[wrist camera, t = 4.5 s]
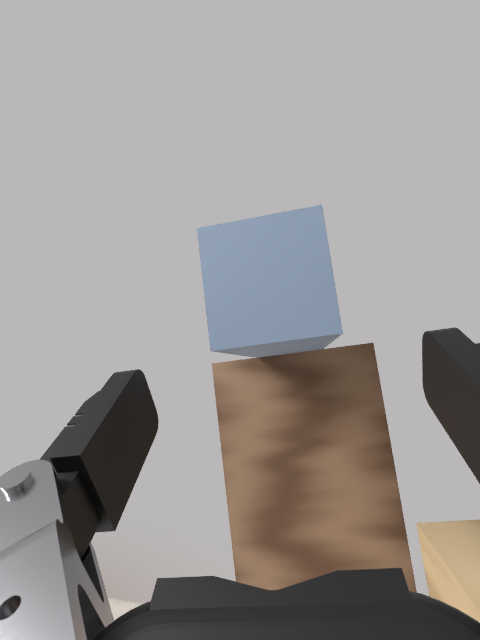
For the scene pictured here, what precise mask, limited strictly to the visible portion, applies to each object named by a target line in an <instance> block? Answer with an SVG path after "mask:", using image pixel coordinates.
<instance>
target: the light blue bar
mask: <svg viewBox="0 0 480 640" xmlns="http://www.w3.org/2000/svg"><path fill="white" fill-rule="evenodd" d="M197 233H198V241H199V251H200V259H201V268H202V277H203V287H204V295H205V305H206V314H207V323H208V332H209V340H210V349H211V351H214V352H221V353H228V354H235V355H242V356H250V357H256V358H260V357H267V356H275V355H283V354H291V353H298V352H306V351H314V350H322V349H324V348H325V347H326V346H327V345H329V344H330V343H331V342H332V341H334V340H335V339H336V338H337V337H339V336H340V335H341V334H343V331H342V325H341V319H340V313H339V307H338V301H337V294H336V289H335V282H334V276H333V270H332V264H331V257H330V252H329V245H328V239H327V234H326V227H325V222H324V215H323V208H322V205H318V206H313V207H308V208H302V209H297V210H292V211H287V212H281V213H276V214H271V215H265V216H260V217H255V218H250V219H244V220H239V221H233V222H228V223H223V224H218V225H212V226H207V227H202V228H197Z"/></svg>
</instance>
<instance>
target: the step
mask: <svg viewBox="0 0 480 640" xmlns="http://www.w3.org/2000/svg"><path fill="white" fill-rule="evenodd" d="M417 528H418V534H419V540H420V545H421V550H422V557H423V562H424V568H425V574H426V579H427V585H428V590H429V596H430V597H432V598H434V599H437V600H440V601H442V602H444V603H446V604H448V605H450V606H452V607H454V608H457V609H458V610H460V611H462V612H463V613H465V614H467V615H468V616H470V617H472V618H474V619H475V620H477V621H478V622H479V623H480V520H466V521H450V522H430V523H417Z"/></svg>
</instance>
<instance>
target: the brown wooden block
mask: <svg viewBox="0 0 480 640" xmlns="http://www.w3.org/2000/svg"><path fill="white" fill-rule="evenodd" d="M212 369H213V378H214V387H215V396H216V405H217V414H218V422H219V432H220V441H221V450H222V458H223V468H224V477H225V485H226V494H227V504H228V513H229V522H230V531H231V539H232V549H233V558H234V567H235V576H236V582H239V583H243V584H247V585H251V586H255V587H259V588H263V589H267V590H278V589H282V588H285V587H288V586H291V585H294V584H297V583H300V582H303V581H306V580H310V579H313V578H316V577H319V576H322V575H325V574H328V573H331V572H334V571H338V570H360V569H383V568H402V570H403V573H404V576H405V580H406V583H407V586H408V589H409V591H412V592H416V587H415V581H414V575H413V569H412V564H411V558H410V552H409V546H408V540H407V535H406V529H405V523H404V518H403V512H402V506H401V500H400V494H399V489H398V483H397V477H396V471H395V465H394V460H393V454H392V448H391V442H390V437H389V431H388V425H387V420H386V414H385V408H384V402H383V396H382V391H381V385H380V379H379V373H378V368H377V362H376V357H375V350H374V345H373V343H368V344H361V345H353V346H345V347H337V348H329V349H322V350H314V351H306V352H298V353H291V354H283V355H275V356H267V357H260V358H252V359H245V360H236V361H229V362H221V363H213V364H212ZM416 593H417V592H416Z"/></svg>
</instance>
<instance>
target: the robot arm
mask: <svg viewBox="0 0 480 640" xmlns="http://www.w3.org/2000/svg"><path fill="white" fill-rule="evenodd" d="M422 350H423V351H422V358H423V360H422V362H423V389H424V393H425V397H426V400H427V402H428V404H429V406H430V407H431V409H432V410H433V412H434V414H435V415H436V416H437V418H438V420H439V421H440V423H441V424H442V426H443V427H444V429H445V431H446V432H447V434H448V435H449V437H450V438H451V440H452V441H453V443H454V444H455V446H456V447H457V449H458V451H459V452H460V454H461V455H462V457H463V458H464V460H465V462H466V463H467V465H468V466H469V468H470V469H471V471H472V472H473V474H474V475H475V477H476V479H477V480H478V482H479V483H480V343H479V344H475V343H473V342H472V341H471V340H470V339H469V338H468V337H467V336H466V335H464V334H463V333H462V332H461V331H460V330H459V329H458V328H449V329H441V330H434V331H426V332H425V333H424V335H423V339H422ZM67 425H68V426H67V427H65V428H64V429H63V430H62V432H61V433H60V434H59V436H58V437H57V438H56V439H55V441H54V442H53V443H52V444H51V446H50V447H49V448H48V450H47V451H46V452H45V453H44V455H43V456H42V457H41V459H40V460H34V461H30V462H26V463H23V464H21V465H19V466H17V467H15V468H13V469H11V470H9V471H8V472H6V473H5V474H3V475H2V476H1V477H0V640H480V623H479V622H478V621H477V620H475V619H474V618H472V617H470V616H468V615H467V614H465V613H463V612H462V611H460V610H458V609H457V608H454V607H452V606H450V605H448V604H446V603H444V602H442V601H440V600H437V599H434V598H432V597H429V596H426V595H423V594H420V593H416V592H412V591H409V589H408V586H407V583H406V580H405V576H404V573H403V570H402V568H383V569H360V570H338V571H334V572H331V573H328V574H325V575H322V576H319V577H316V578H313V579H310V580H306V581H303V582H300V583H297V584H294V585H291V586H288V587H285V588H282V589H278V590H267V589H263V588H259V587H255V586H251V585H247V584H243V583H239V582H235V581H231V580H227V579H223V578H219V577H215V576H203V577H179V578H157V581H156V585H155V589H154V592H153V596H152V600H151V601H150V602H147V603H145V604H143V605H140V606H138V607H136V608H134V609H132V610H130V611H129V612H127V613H125V614H124V615H122V616H120V617H119V618H117V619H116V620H115V621H114V618H113V615H112V612H111V608H110V605H109V601H108V597H107V594H106V590H105V587H104V583H103V579H102V576H101V572H100V569H99V565H98V561H97V558H96V554H95V551H94V548H93V546H92V544H91V540H92V538H93V536H94V534H95V532H106V531H115V530H116V527H117V525H118V522H119V520H120V518H121V516H122V513H123V511H124V508H125V506H126V504H127V501H128V499H129V497H130V494H131V492H132V490H133V487H134V485H135V483H136V480H137V478H138V476H139V473H140V471H141V469H142V466H143V464H144V462H145V459H146V457H147V455H148V452H149V450H150V447H151V445H152V443H153V441H154V438H155V436H156V433H157V430H158V415H157V411H156V408H155V405H154V402H153V399H152V396H151V393H150V390H149V387H148V384H147V381H146V378H145V375H144V374H143V372H142V371H141V370H131V371H124V372H116V373H114V374H113V375H112V376H111V377H110V379H109V380H108V381H107V383H106V384H105V385H104V387H103V388H102V389H101V391H98V392H97V393H96V394H95V395H93V396H92V397H91V398H89V399H88V400H87V401H85V402H84V403H83V405H82V406H81V407H80V409H79V410H78V411H77V413H76V414H75V416H74V417H73V418H72V419H71V420H70V422H69V423H68V424H67Z"/></svg>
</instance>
